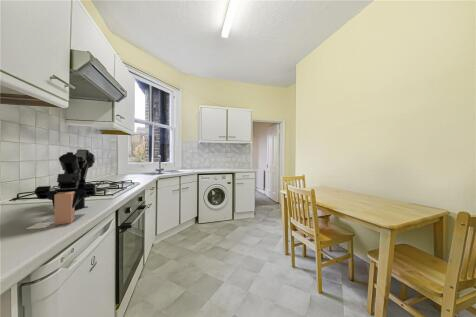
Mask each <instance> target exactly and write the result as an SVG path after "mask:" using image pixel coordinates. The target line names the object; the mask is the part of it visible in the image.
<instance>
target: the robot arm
mask: <svg viewBox="0 0 476 317" xmlns="http://www.w3.org/2000/svg"><path fill="white" fill-rule="evenodd" d="M58 160H59V161H58V162H59V163H60V166H61V170H62V171H64V172H63V173H58V174H57V179H56V183H57V186H58V188H57V187H51V185H42V186H37V187H36V188H35V190H34V194H35V195H36V197H37V199H39V200H46V199H48V200H49V201H51V202H52V207H53V208H54V195H55V194H57V193H59V192H73V191H75V198H74V201H73V204H72V208H74V207H75V211H79V210H83V209H87V208H89V206H86V203H85V202H86V199H87V198H90V197H91V196H95V195H97V186H96V184H95V183H87V182H86V179H87V175H88V170H89V169H90V168H92V167H93V166H94V164H95V162H96V161H95V160H96V158H95V155H94V153H92V152H90V150H89V149H81V148H80V149H76V152H75V153H74V152H70V151H67V152H66V153H65V154H62V155H60V156H59V157H58Z"/></svg>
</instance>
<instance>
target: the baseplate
mask: <svg viewBox="0 0 476 317" xmlns="http://www.w3.org/2000/svg"><path fill="white" fill-rule="evenodd" d="M85 215H86V214H85V213H84V214H83V213H81V214H79V213H78V214H75V219H74V220H73V222H72V223H67V224H60V225H55V221H54V215H52V216H49V217H47V218H46V219H44V220H41V221H40V222H37V223H35V224H33V225H31V226H29V227H27V228H25V229H24V230H26V231H27V230H38V229H39V230H40V229H51V228H54V229H55V228H64V227H65V228H66V227H68V226H69V225H71V224H73V223H74V222H76V221H77V220H79V219H81V218H82V217H84V216H85Z"/></svg>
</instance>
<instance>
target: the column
mask: <svg viewBox="0 0 476 317" xmlns="http://www.w3.org/2000/svg"><path fill="white" fill-rule="evenodd" d="M74 198H75V191H73V192H59V193H57V194H55V195H54V207H53V209H54V215H53V216H54V221H55V225H60V224H67V223H71V224H73V223H74V222H73V220H74V219H75V215H76V214H75V213H76V212H75V211H76V210H75V207H74V208H72V204H73V201H74ZM72 222H73V223H72Z"/></svg>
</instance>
